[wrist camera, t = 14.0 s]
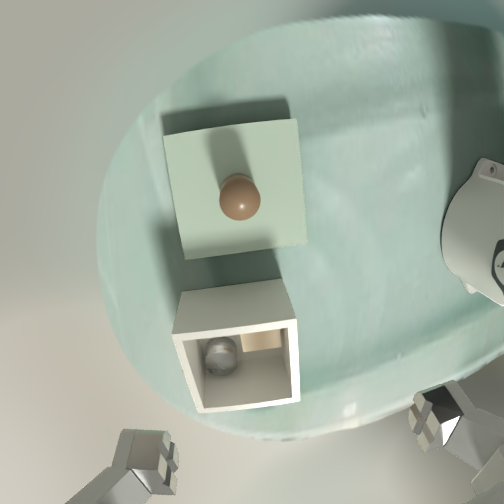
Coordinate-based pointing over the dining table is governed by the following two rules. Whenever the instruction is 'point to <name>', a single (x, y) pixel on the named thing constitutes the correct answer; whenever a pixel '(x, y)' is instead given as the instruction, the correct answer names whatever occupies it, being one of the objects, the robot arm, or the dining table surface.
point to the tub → (238, 345)
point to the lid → (237, 188)
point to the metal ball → (221, 356)
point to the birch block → (261, 340)
